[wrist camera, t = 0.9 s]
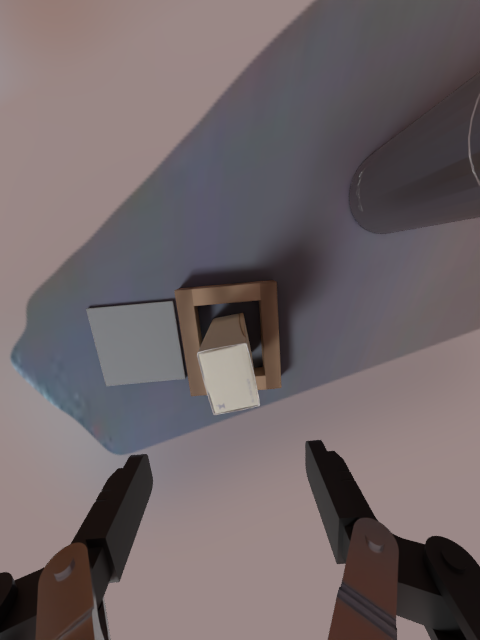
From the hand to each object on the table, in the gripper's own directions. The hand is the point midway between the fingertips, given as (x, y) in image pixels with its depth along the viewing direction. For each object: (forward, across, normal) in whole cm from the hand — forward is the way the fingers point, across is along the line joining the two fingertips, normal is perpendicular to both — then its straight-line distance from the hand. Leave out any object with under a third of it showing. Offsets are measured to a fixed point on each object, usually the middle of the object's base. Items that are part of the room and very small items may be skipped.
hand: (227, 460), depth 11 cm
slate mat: (+20, +12, 0) cm, 24 cm away
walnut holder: (+20, 0, 0) cm, 20 cm away
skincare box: (+20, 0, 0) cm, 20 cm away
